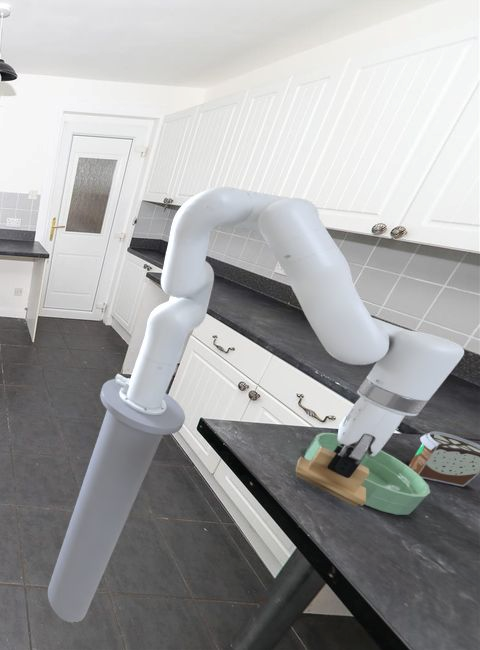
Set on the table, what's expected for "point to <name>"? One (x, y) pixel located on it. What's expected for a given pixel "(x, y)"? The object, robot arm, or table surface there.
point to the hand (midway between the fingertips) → (338, 468)
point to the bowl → (382, 479)
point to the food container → (447, 459)
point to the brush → (333, 477)
